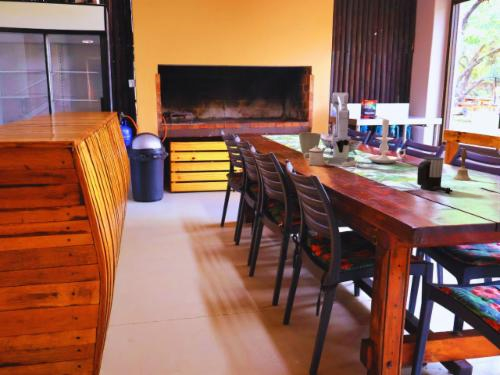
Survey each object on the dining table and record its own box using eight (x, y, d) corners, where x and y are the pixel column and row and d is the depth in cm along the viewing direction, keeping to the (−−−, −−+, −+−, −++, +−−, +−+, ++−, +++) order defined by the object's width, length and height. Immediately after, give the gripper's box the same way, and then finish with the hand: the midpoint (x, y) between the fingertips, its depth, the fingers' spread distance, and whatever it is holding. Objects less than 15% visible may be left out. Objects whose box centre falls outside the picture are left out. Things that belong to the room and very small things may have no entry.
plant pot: (296, 158, 310) (296, 134, 307) (300, 155, 324) (301, 132, 321) (318, 159, 306) (319, 135, 302) (321, 156, 320) (322, 133, 316)
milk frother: (424, 186, 221) (427, 155, 218) (458, 190, 211) (462, 158, 208) (413, 190, 210) (415, 158, 207) (449, 195, 200) (452, 162, 197)
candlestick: (411, 165, 282) (415, 119, 276) (372, 165, 281) (375, 119, 275) (399, 160, 302) (402, 117, 296) (362, 160, 301) (364, 117, 295)
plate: (337, 157, 285) (338, 144, 284) (348, 158, 280) (349, 145, 278) (335, 157, 284) (336, 144, 282) (346, 158, 278) (347, 145, 277)
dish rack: (339, 162, 292) (340, 155, 291) (356, 164, 283) (356, 157, 282) (326, 164, 282) (326, 157, 282) (342, 167, 274) (343, 159, 273)
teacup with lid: (322, 163, 286) (323, 145, 284) (323, 166, 277) (324, 146, 275) (303, 163, 287) (304, 144, 285) (303, 165, 278) (304, 146, 276)
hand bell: (460, 181, 233) (464, 150, 229) (449, 178, 240) (452, 148, 237) (474, 180, 235) (477, 149, 232) (463, 177, 243) (466, 147, 239)
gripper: (341, 131, 271) (340, 154, 274) (355, 130, 281) (354, 152, 283) (331, 130, 276) (330, 153, 279) (345, 129, 286) (344, 150, 288)
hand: (341, 152), depth 281 cm, fingers closed on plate, 2 cm apart
